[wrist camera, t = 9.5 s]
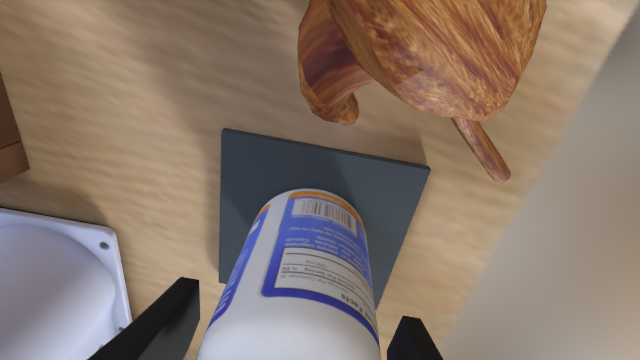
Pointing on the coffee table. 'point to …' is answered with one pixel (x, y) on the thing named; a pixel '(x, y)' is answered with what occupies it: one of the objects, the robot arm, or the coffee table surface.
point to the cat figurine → (420, 59)
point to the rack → (9, 141)
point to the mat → (316, 173)
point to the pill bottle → (298, 286)
